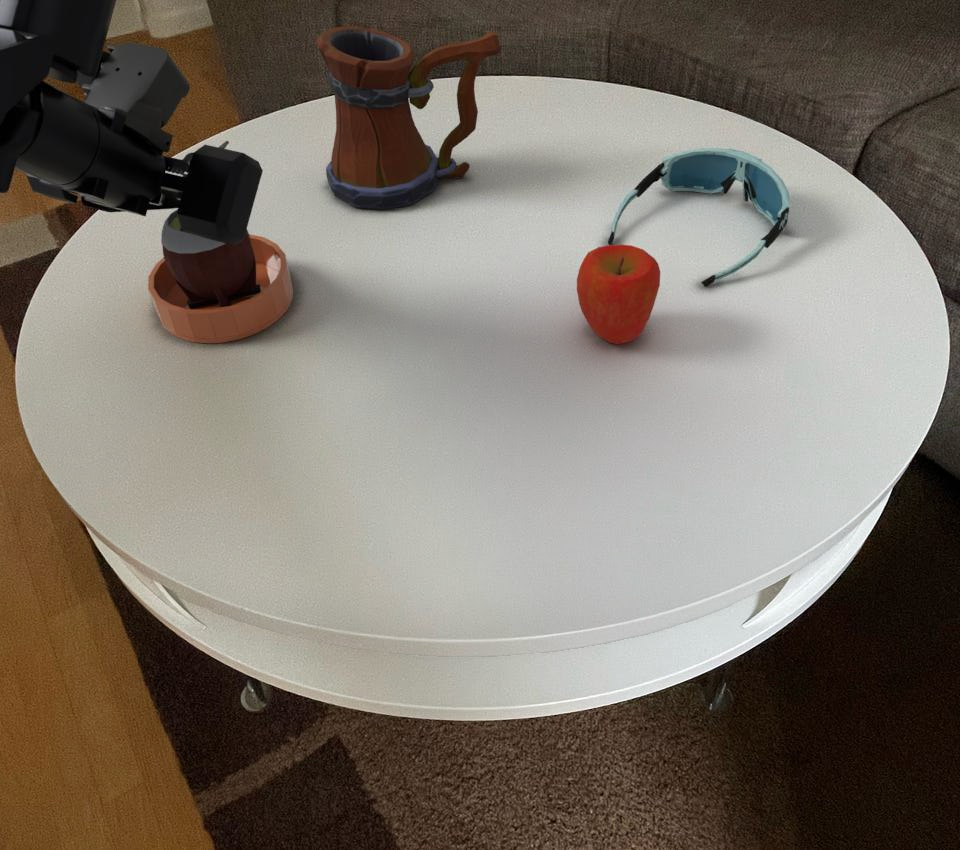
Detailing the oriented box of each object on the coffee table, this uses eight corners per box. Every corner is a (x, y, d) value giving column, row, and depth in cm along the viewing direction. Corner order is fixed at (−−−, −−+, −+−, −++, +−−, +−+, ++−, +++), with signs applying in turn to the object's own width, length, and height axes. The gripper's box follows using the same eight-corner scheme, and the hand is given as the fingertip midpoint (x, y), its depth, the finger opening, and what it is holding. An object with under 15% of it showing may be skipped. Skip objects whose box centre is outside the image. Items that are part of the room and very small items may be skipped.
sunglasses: (809, 220, 85) (817, 174, 81) (721, 313, 78) (725, 268, 75) (680, 172, 92) (682, 128, 88) (590, 254, 85) (588, 211, 82)
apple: (562, 343, 74) (565, 266, 68) (595, 302, 77) (600, 226, 72) (634, 367, 71) (642, 289, 66) (665, 323, 75) (675, 246, 70)
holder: (131, 326, 78) (119, 296, 75) (209, 253, 85) (200, 223, 83) (246, 356, 74) (237, 325, 72) (317, 277, 82) (311, 246, 79)
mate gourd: (184, 286, 81) (123, 124, 71) (272, 267, 82) (224, 104, 72) (185, 333, 75) (119, 164, 65) (279, 311, 76) (228, 141, 66)
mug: (500, 147, 97) (496, 2, 87) (508, 204, 89) (504, 51, 78) (331, 158, 97) (307, 13, 86) (324, 216, 89) (296, 64, 78)
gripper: (212, 41, 56) (334, 131, 71) (-7, 4, 62) (147, 94, 77) (164, 216, 57) (295, 269, 71) (-48, 161, 63) (113, 221, 78)
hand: (210, 208), depth 74 cm, fingers closed on mate gourd, 5 cm apart
